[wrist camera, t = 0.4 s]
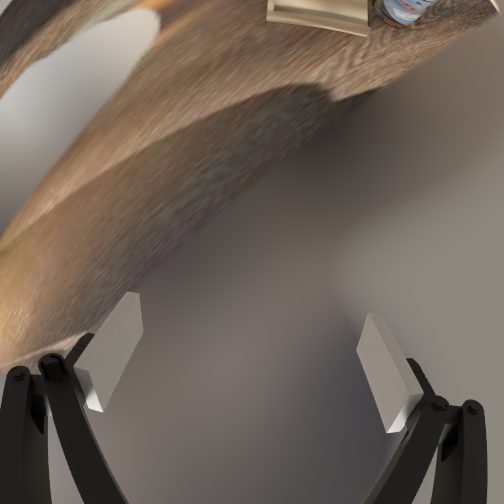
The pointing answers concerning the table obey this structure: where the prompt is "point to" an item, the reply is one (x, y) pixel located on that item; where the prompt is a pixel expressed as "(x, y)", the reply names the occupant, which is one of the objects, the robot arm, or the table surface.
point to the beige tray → (322, 14)
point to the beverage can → (401, 11)
